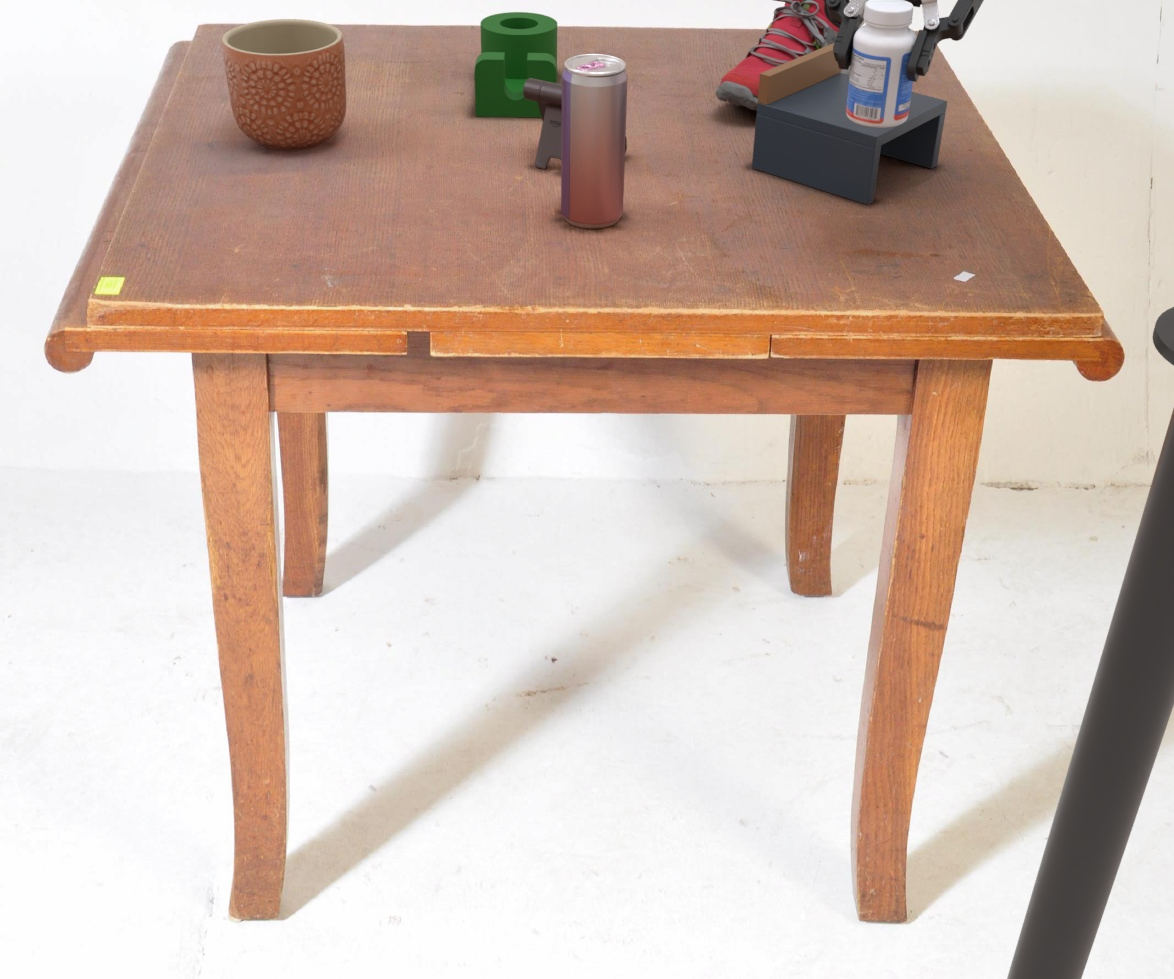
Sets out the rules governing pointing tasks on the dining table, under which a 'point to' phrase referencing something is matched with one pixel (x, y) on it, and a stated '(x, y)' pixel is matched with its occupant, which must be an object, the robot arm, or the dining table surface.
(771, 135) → the shelf
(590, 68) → the beverage can
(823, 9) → the athletic shoe
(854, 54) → the pill bottle
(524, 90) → the tablet stand
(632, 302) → the dining table surface
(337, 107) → the planter
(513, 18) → the slotted cylinder bracket
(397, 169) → the dining table surface
